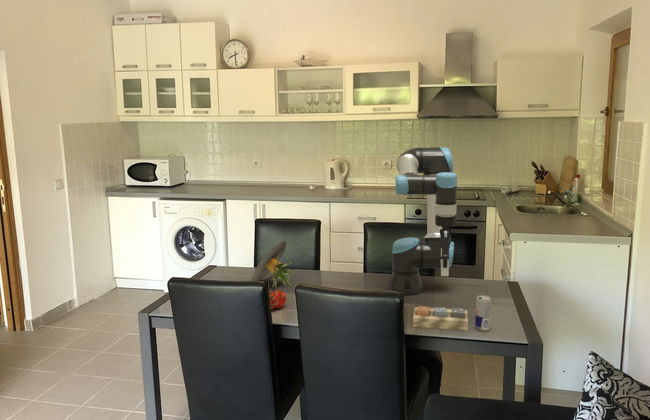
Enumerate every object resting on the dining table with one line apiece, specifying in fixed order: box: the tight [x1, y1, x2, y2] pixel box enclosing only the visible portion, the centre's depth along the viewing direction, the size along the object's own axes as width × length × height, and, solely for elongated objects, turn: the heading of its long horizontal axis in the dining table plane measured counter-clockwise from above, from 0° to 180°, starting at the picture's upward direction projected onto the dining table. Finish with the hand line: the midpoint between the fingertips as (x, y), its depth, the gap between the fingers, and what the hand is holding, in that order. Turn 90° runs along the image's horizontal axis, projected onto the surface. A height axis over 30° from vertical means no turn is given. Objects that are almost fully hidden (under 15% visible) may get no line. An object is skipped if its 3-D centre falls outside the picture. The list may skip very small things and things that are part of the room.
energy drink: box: [474, 294, 492, 332], centre depth 199 cm, size 5×5×12 cm
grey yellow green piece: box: [250, 240, 297, 289], centre depth 251 cm, size 25×18×25 cm
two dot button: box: [451, 307, 465, 318], centre depth 204 cm, size 4×4×3 cm
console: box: [412, 306, 469, 331], centre depth 206 cm, size 20×11×4 cm, turn 77°
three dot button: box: [434, 306, 448, 317], centre depth 205 cm, size 4×4×3 cm
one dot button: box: [417, 305, 430, 316], centre depth 207 cm, size 4×4×3 cm
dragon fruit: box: [268, 289, 288, 310], centre depth 225 cm, size 8×8×12 cm
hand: (444, 270), depth 202 cm, fingers open, 13 cm apart
